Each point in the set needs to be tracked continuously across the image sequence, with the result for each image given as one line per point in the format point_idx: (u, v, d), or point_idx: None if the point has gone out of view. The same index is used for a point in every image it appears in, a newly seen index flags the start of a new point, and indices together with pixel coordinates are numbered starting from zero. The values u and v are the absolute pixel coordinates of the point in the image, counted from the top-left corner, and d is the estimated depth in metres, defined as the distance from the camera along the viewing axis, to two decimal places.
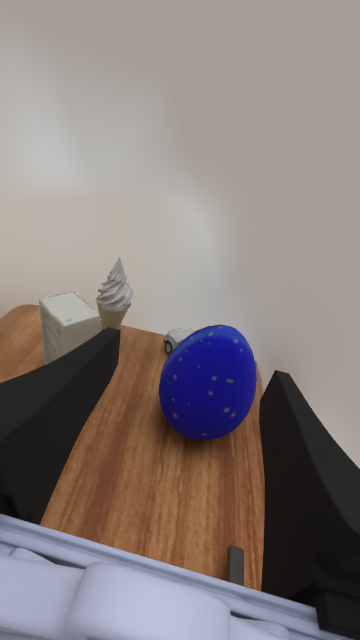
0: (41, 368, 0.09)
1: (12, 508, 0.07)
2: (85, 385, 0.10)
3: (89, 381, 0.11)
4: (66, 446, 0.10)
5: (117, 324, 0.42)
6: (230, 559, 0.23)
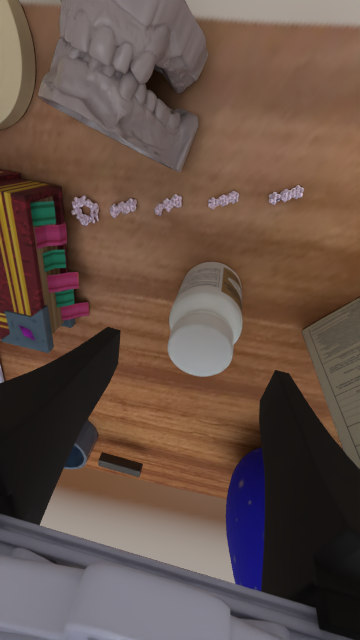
0: (41, 368, 0.09)
1: (12, 508, 0.07)
2: (85, 385, 0.10)
3: (89, 381, 0.11)
4: (66, 446, 0.10)
5: None
6: (131, 469, 0.31)
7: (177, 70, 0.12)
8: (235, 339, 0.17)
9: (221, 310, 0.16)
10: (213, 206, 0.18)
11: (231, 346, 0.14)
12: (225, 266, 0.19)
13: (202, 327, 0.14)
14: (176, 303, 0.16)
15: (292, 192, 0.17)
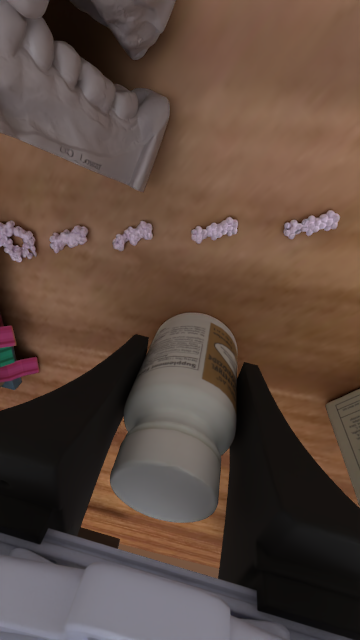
0: (80, 378, 0.09)
1: (59, 522, 0.07)
2: (119, 394, 0.10)
3: (122, 390, 0.11)
4: (101, 456, 0.10)
5: None
6: None
7: (118, 5, 0.06)
8: (225, 450, 0.11)
9: (201, 414, 0.10)
10: (199, 239, 0.12)
11: (215, 493, 0.08)
12: (213, 320, 0.13)
13: (162, 467, 0.08)
14: (132, 394, 0.10)
15: (321, 222, 0.11)
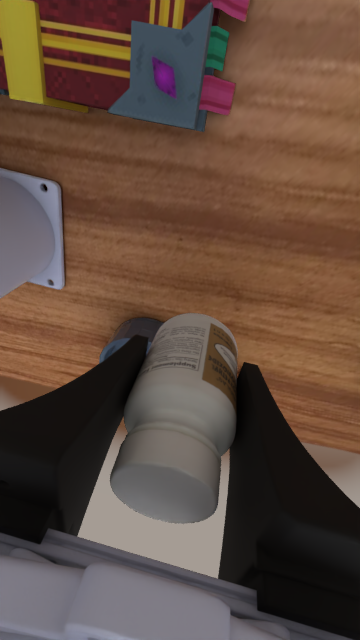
0: (80, 378, 0.09)
1: (59, 522, 0.07)
2: (119, 394, 0.10)
3: (122, 390, 0.11)
4: (101, 456, 0.10)
5: None
6: None
7: None
8: (225, 451, 0.11)
9: (201, 415, 0.10)
10: None
11: (215, 494, 0.08)
12: (213, 321, 0.13)
13: (162, 468, 0.08)
14: (132, 395, 0.10)
15: None
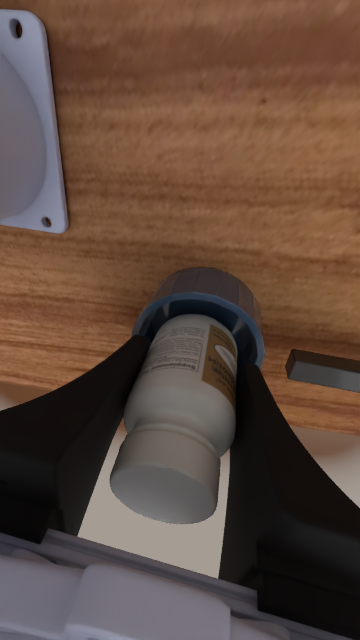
0: (80, 378, 0.09)
1: (59, 522, 0.07)
2: (119, 394, 0.10)
3: (122, 390, 0.11)
4: (101, 456, 0.10)
5: None
6: None
7: None
8: (224, 451, 0.11)
9: (200, 416, 0.10)
10: None
11: (214, 494, 0.08)
12: (213, 322, 0.13)
13: (162, 469, 0.08)
14: (131, 396, 0.10)
15: None
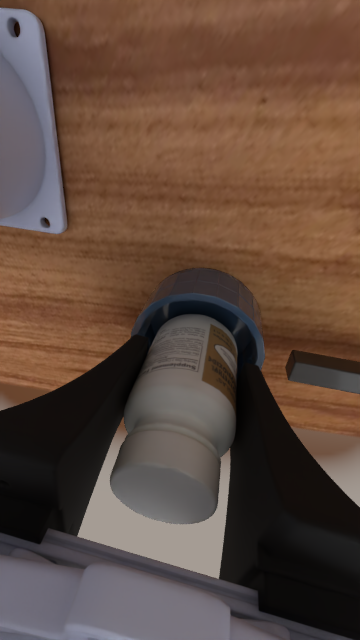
0: (80, 378, 0.09)
1: (59, 522, 0.07)
2: (119, 394, 0.10)
3: (122, 390, 0.11)
4: (101, 456, 0.10)
5: None
6: None
7: None
8: (225, 451, 0.11)
9: (201, 416, 0.10)
10: None
11: (214, 494, 0.08)
12: (213, 322, 0.13)
13: (162, 469, 0.08)
14: (132, 396, 0.10)
15: None
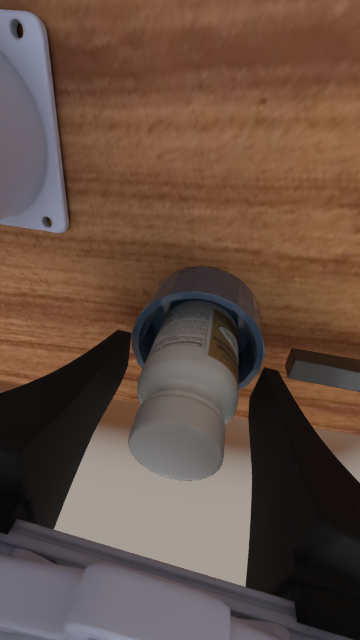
0: (56, 372, 0.09)
1: (30, 513, 0.07)
2: (98, 388, 0.10)
3: (102, 384, 0.11)
4: (79, 450, 0.10)
5: None
6: None
7: None
8: (228, 419, 0.12)
9: (207, 385, 0.11)
10: None
11: (220, 449, 0.10)
12: (216, 307, 0.15)
13: (175, 426, 0.09)
14: (145, 370, 0.12)
15: None
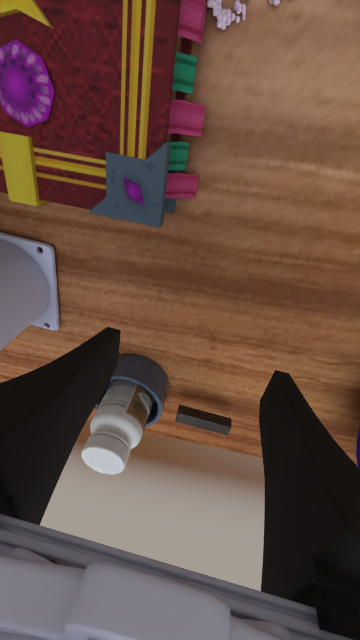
0: (41, 368, 0.09)
1: (12, 508, 0.07)
2: (85, 385, 0.10)
3: (89, 381, 0.11)
4: (66, 446, 0.10)
5: None
6: (219, 424, 0.25)
7: None
8: (135, 444, 0.23)
9: (123, 428, 0.22)
10: None
11: (123, 460, 0.21)
12: None
13: (102, 449, 0.20)
14: (94, 417, 0.23)
15: None
